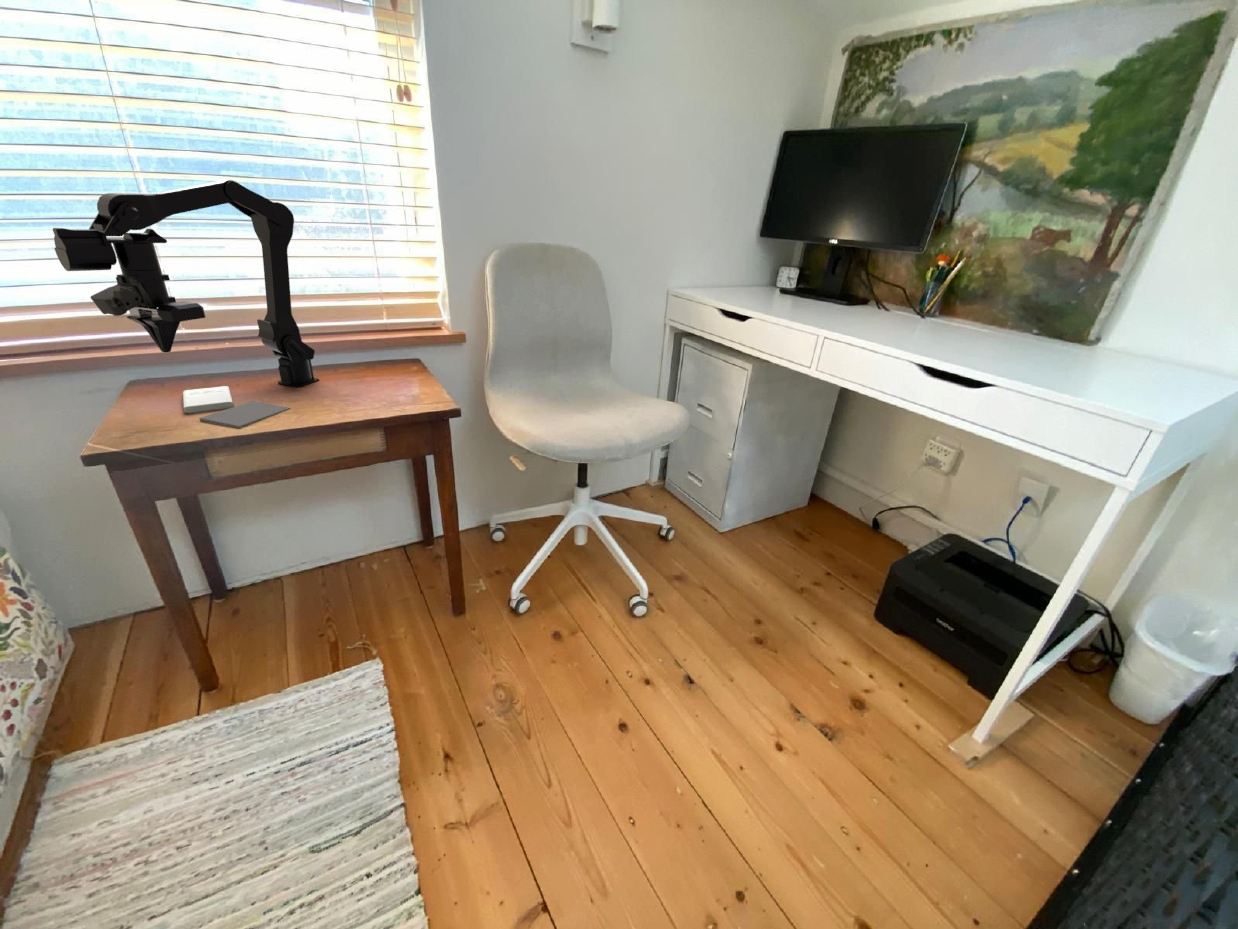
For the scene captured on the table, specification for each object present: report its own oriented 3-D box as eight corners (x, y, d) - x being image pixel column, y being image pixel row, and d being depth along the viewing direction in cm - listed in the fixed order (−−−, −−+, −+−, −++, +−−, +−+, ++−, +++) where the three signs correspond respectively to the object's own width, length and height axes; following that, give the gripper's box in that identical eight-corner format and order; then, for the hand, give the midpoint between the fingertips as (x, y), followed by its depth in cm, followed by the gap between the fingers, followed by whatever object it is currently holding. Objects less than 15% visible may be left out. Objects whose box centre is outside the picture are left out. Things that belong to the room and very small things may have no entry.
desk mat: (253, 403, 116) (252, 400, 115) (290, 410, 113) (290, 407, 113) (200, 420, 105) (199, 418, 105) (240, 428, 103) (239, 426, 102)
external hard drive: (185, 414, 108) (184, 396, 116) (234, 408, 112) (229, 392, 121) (183, 406, 107) (182, 389, 116) (232, 401, 112) (228, 385, 120)
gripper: (52, 267, 94) (85, 354, 100) (131, 277, 89) (159, 367, 96) (122, 263, 103) (147, 343, 110) (196, 272, 99) (217, 354, 106)
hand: (166, 352), depth 105 cm, fingers closed
